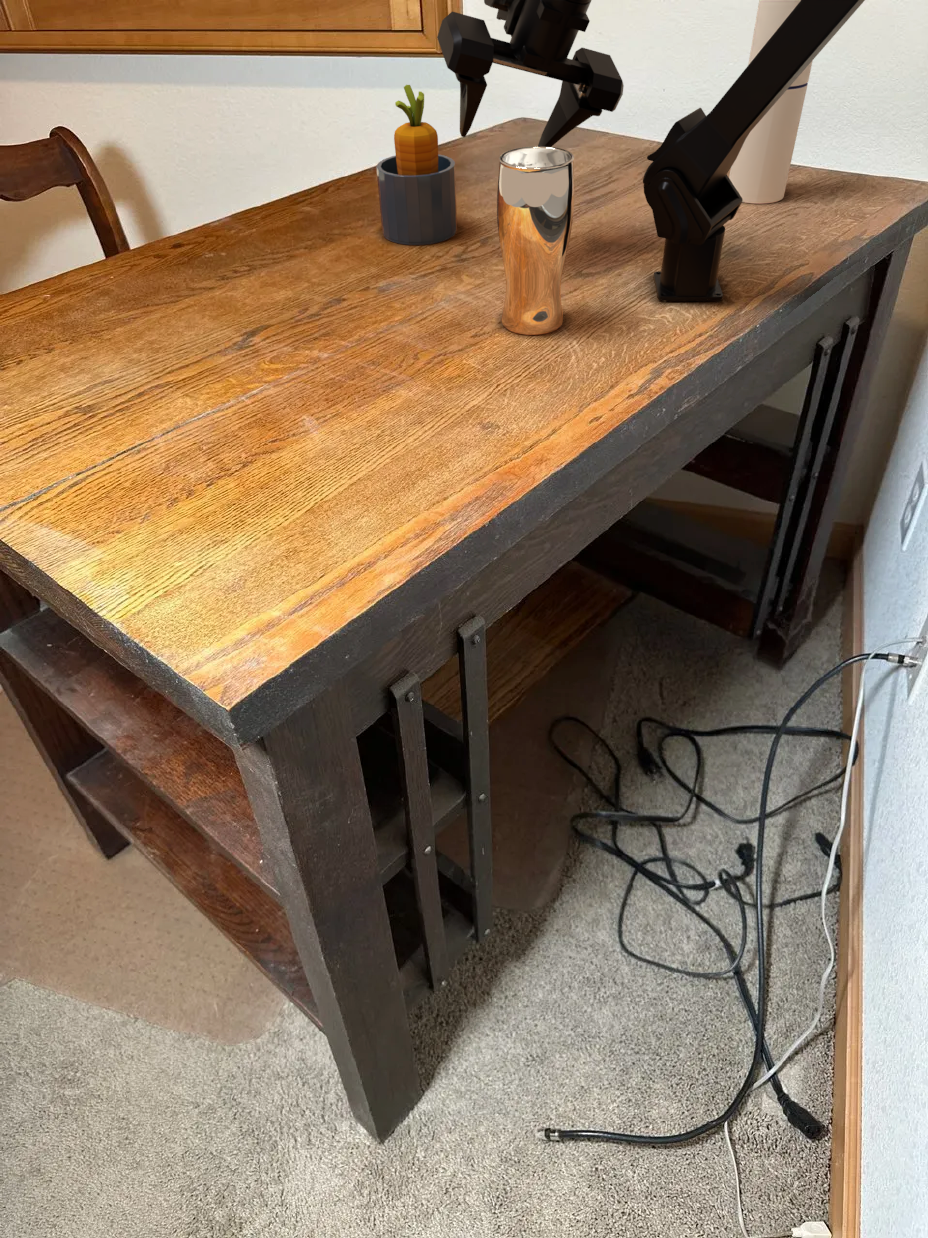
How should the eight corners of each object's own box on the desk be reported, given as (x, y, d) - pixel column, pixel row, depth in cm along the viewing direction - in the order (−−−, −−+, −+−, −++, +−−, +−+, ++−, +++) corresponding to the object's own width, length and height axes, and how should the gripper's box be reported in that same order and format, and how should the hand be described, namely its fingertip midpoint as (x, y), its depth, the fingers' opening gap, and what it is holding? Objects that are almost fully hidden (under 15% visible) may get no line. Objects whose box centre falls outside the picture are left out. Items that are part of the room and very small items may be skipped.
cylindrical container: (785, 204, 109) (839, -46, 92) (726, 202, 110) (769, -46, 93) (782, 186, 114) (832, -55, 97) (726, 184, 115) (766, -54, 98)
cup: (453, 245, 102) (451, 176, 97) (377, 245, 102) (371, 176, 97) (459, 218, 108) (457, 152, 103) (388, 218, 109) (382, 152, 104)
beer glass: (567, 307, 88) (576, 144, 78) (567, 338, 83) (576, 168, 73) (499, 306, 89) (499, 145, 79) (494, 336, 84) (494, 168, 74)
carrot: (440, 236, 103) (434, 91, 93) (398, 236, 103) (388, 92, 93) (442, 221, 107) (436, 80, 97) (402, 222, 107) (392, 81, 97)
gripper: (623, -34, 88) (558, 115, 100) (452, -90, 80) (405, 78, 93) (657, 29, 83) (584, 177, 95) (479, -25, 75) (425, 143, 88)
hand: (501, 142), depth 93 cm, fingers open, 9 cm apart
